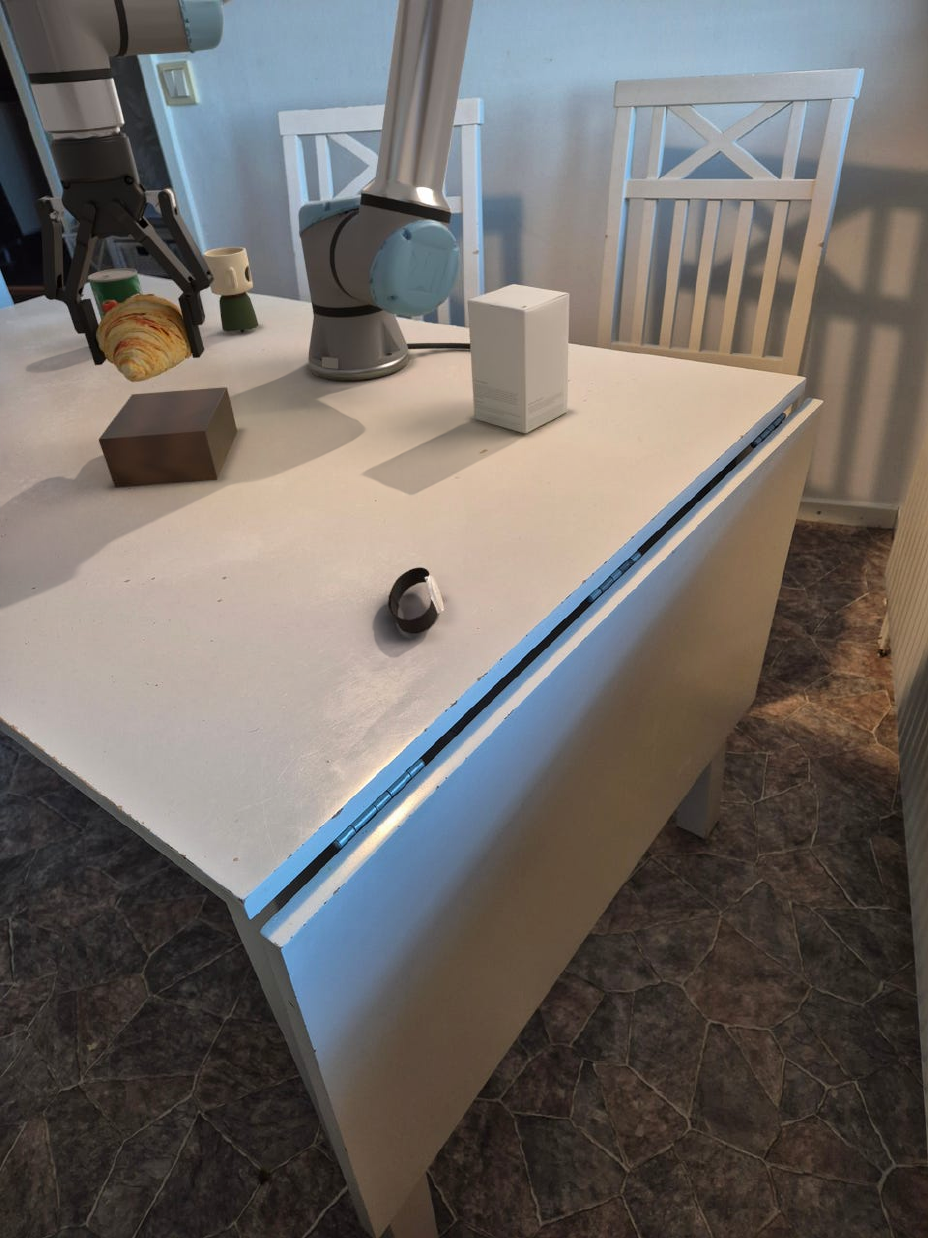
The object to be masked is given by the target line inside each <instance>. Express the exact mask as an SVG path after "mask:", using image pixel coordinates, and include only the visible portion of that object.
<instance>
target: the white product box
mask: <svg viewBox="0 0 928 1238" xmlns="http://www.w3.org/2000/svg"><path fill="white" fill-rule="evenodd" d="M467 314H468V331H469V343H470V349H469V350H470V364H471V383H472V384H471V385H472V398H473V419H475V420H477V421H481V422H484V423H489V424H491V425H494V426H498V427H501V428H505V429H508V430H511V431H515V432H518V433H522V434H528V433H530V432H531V431H533V430H535V429H538V428H539V427H541V426H543V425H545V424H547V423H549V422H550V421H552V420H553V421H554V420H555V419H556V418H558V417H561V416H562V415H564V414H566V413H567V414H568V402H569V401H568V396H569V394H568V393H569V392H568V391H569V336H570V335H569V333H570V331H569V329H570V325H569V324H570V293H569V292H564V291H558V290H551V289H545V288H539V287H533V286H527V285H521V284H515V283H513V284H509V285H506V286H503V287H501V288H499V289H496V290H493V291H490V292H486V293H483V294H480V295H478V296H475V297H473V298H470V299H468V300H467Z"/></svg>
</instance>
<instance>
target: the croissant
mask: <svg viewBox="0 0 928 1238" xmlns="http://www.w3.org/2000/svg"><path fill="white" fill-rule="evenodd" d="M98 325H99V326H98V328H97V332H96V340H97V342H98V344H99V347H100V349H101V350H102V351H103V352H104V353H105V357H106V361H107V362H109V363H110V364H112V365H114V366H115V367H116V369H117V371H118V372H119V373H121V375H123V377H124V378H125V379H126V380H128V381H130V382H132V383H139V382H144V381H146V380H149V379H152V378H155V377H157V376H159V375H160V376H161V375H162V374H164V373H166V372H168V371H169V370H171V369H173V368H175V367H176V366H177V365H180V364H181V363H183V362H184V361H185V359H189V358H190V357H191V356H192V352H191V348H190V344H189V340H188V336H187V332H186V328H185V324H184V320H183V316H182V312H181V308H180V306H178V305H176V304H175V303H174V302H172V301H170V300H168V299H166V298H164V297H161V296H157V295H155V294H154V293H146V294H143V295H136V296H134V297H131V298H127V299H126V300H125V302H123V303H119V304H117V305H116V306H115V307H113V308H112V309H110V310H109V311H108V312H107V313H106V315H105V316H104V317H103V318H102V320H101V319H100V322H99V323H98Z"/></svg>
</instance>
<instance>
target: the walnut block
mask: <svg viewBox="0 0 928 1238" xmlns="http://www.w3.org/2000/svg"><path fill="white" fill-rule="evenodd" d="M235 419H236V418H235V415H234V411H233V407H232V403H231V398H230V394H229V390H228V387H227V386H225V387H212V388H209V387H208V388H198V389H185V390H172V391H171V390H170V391H159V392H145V393H144V392H143V393H132V394H131V395H130V397H129V398H128V399H127V401H126V402H125V403H124V405H123V406H122V407H121V409H120V410H119V411H118V413H117V414H116V415H115V417H114V418H113V419H112V421H110V423H109V424H108V426H107V427H106V429H105V430H104V432H102V434H101V435H100V437H99V438H98V442H99V445H100V448H101V451H102V454H103V457H104V460H105V462H106V465H107V468H108V471H109V474H110V477H111V481H112V483H113V486H114V488H121V487H122V488H123V487H134V486H137V487H138V486H148V485H149V486H150V485H162V484H174V483H187V482H201V481H210V480H212V481H214V480H218V479H219V477H220V475H221V472H222V469H223V467H224V464H225V462H226V460H227V457H228V455H229V452H230V450H231V448H232V445H233V443H234V442H235V441H234V440H235V438H236V436H237V434H238V427H237V424H236V420H235Z"/></svg>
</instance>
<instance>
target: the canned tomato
mask: <svg viewBox="0 0 928 1238" xmlns="http://www.w3.org/2000/svg"><path fill="white" fill-rule="evenodd" d="M138 275H139V274H138V271H137V270H136V269H134V268H127V267H125V268H113V269H112V268H111V269H105V270H101V271H97V272H94V273H91V274H89V275H87V280H88V282H89V283H88V284H89V286H90V289H91V292H92V295H93V299H94V301H95V305H96V307H97V311H98V314H99V317H100V321H101V320H102V318H103V317H104V316H105V315H106V313H107V312H108V311H109V310H110V309H112V308H113V307H115V306H116V305H117V304H119V303H123V302H125V300H126V299H127V298H131V297H134V296H136V295H144V293H143V289H142V285H141V281H140V278H139V276H138Z"/></svg>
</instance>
